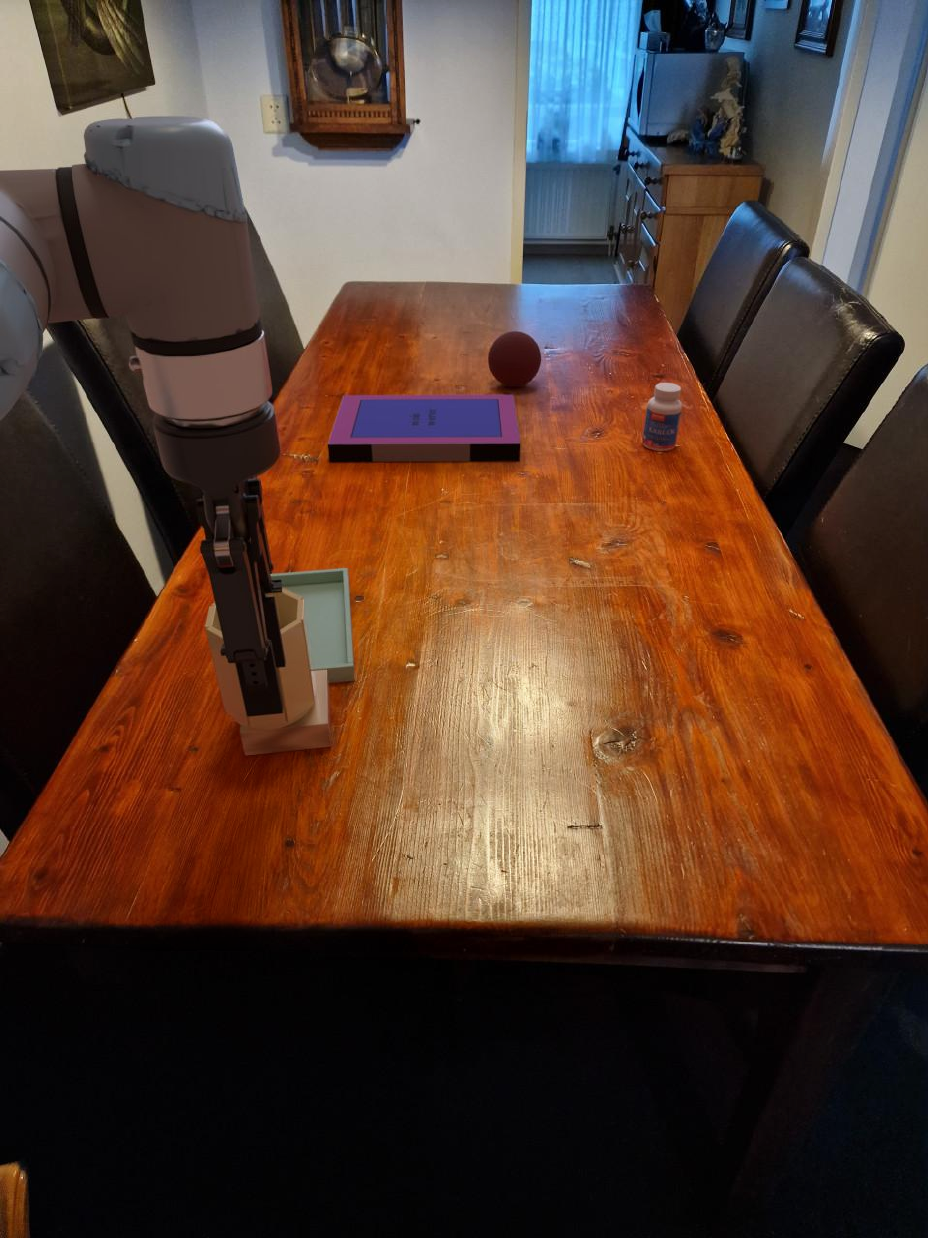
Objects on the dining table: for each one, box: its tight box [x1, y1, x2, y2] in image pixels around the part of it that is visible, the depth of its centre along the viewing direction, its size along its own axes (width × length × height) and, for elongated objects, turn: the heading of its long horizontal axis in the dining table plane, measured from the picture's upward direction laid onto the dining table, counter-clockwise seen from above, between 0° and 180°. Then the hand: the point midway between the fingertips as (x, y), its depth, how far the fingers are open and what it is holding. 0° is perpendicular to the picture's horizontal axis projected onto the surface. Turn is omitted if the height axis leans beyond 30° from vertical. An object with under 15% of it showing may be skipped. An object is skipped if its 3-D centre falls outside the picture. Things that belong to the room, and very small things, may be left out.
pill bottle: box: [641, 382, 683, 452], centre depth 130 cm, size 6×5×10 cm
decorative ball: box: [487, 330, 542, 388], centre depth 153 cm, size 10×10×10 cm
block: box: [239, 670, 332, 756], centre depth 79 cm, size 8×8×3 cm
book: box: [327, 394, 521, 463], centre depth 136 cm, size 21×3×30 cm
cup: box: [204, 588, 316, 730], centre depth 75 cm, size 8×8×10 cm
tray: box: [270, 567, 356, 684], centre depth 91 cm, size 19×13×2 cm
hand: (267, 687), depth 65 cm, fingers open, 5 cm apart
